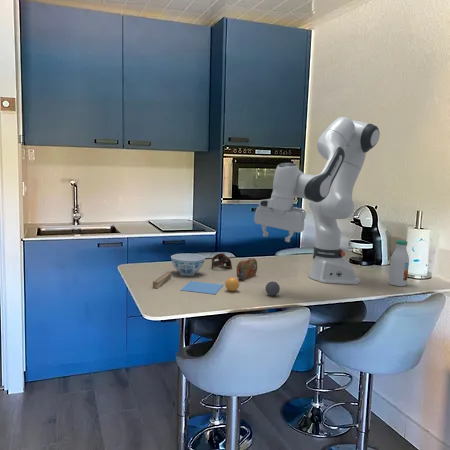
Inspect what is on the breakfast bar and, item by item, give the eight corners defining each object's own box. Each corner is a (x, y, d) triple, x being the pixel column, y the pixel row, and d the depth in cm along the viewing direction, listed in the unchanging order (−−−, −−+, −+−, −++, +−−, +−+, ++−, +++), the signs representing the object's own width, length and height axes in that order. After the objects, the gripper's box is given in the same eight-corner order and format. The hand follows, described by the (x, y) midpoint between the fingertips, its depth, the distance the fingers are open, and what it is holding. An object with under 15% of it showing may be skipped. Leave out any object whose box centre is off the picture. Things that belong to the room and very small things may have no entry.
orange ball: (239, 289, 181) (240, 276, 181) (237, 293, 176) (238, 279, 175) (226, 288, 183) (227, 275, 182) (223, 292, 177) (224, 278, 176)
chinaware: (180, 268, 212) (181, 252, 211) (209, 272, 207) (210, 256, 206) (164, 275, 199) (164, 257, 197) (195, 280, 193) (195, 262, 192)
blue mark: (223, 285, 187) (223, 284, 187) (215, 294, 174) (215, 293, 174) (190, 281, 190) (190, 281, 190) (180, 290, 176) (180, 289, 176)
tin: (240, 281, 194) (242, 262, 193) (234, 280, 196) (235, 261, 195) (257, 275, 207) (258, 257, 206) (251, 274, 208) (252, 256, 207)
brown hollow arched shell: (234, 271, 213) (228, 257, 210) (216, 279, 214) (209, 265, 211) (232, 260, 224) (225, 246, 221) (214, 267, 225) (207, 253, 222)
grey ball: (279, 294, 178) (280, 280, 178) (278, 298, 173) (279, 284, 172) (266, 292, 179) (266, 279, 179) (264, 296, 174) (265, 282, 173)
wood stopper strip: (170, 278, 193) (171, 273, 192) (157, 288, 177) (157, 282, 177) (166, 278, 193) (166, 272, 193) (152, 288, 178) (152, 281, 177)
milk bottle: (397, 287, 198) (402, 242, 196) (384, 282, 205) (388, 239, 202) (410, 286, 202) (415, 241, 199) (396, 281, 209) (401, 238, 206)
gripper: (309, 208, 174) (303, 244, 176) (261, 199, 184) (257, 233, 186) (303, 209, 168) (297, 245, 171) (254, 200, 178) (250, 234, 181)
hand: (276, 239), depth 179 cm, fingers open, 8 cm apart
